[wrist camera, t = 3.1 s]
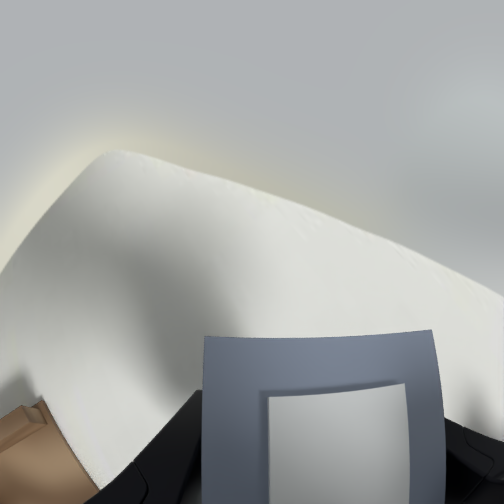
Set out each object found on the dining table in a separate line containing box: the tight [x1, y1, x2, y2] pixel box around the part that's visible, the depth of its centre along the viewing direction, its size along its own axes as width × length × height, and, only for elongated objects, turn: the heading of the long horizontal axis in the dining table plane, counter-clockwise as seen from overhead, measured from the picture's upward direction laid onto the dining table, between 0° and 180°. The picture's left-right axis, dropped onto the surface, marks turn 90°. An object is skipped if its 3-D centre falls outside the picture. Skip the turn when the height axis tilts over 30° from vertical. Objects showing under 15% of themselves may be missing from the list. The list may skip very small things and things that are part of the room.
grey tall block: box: [201, 330, 446, 504], centre depth 8 cm, size 4×4×11 cm
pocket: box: [0, 400, 100, 504], centre depth 9 cm, size 12×12×3 cm
